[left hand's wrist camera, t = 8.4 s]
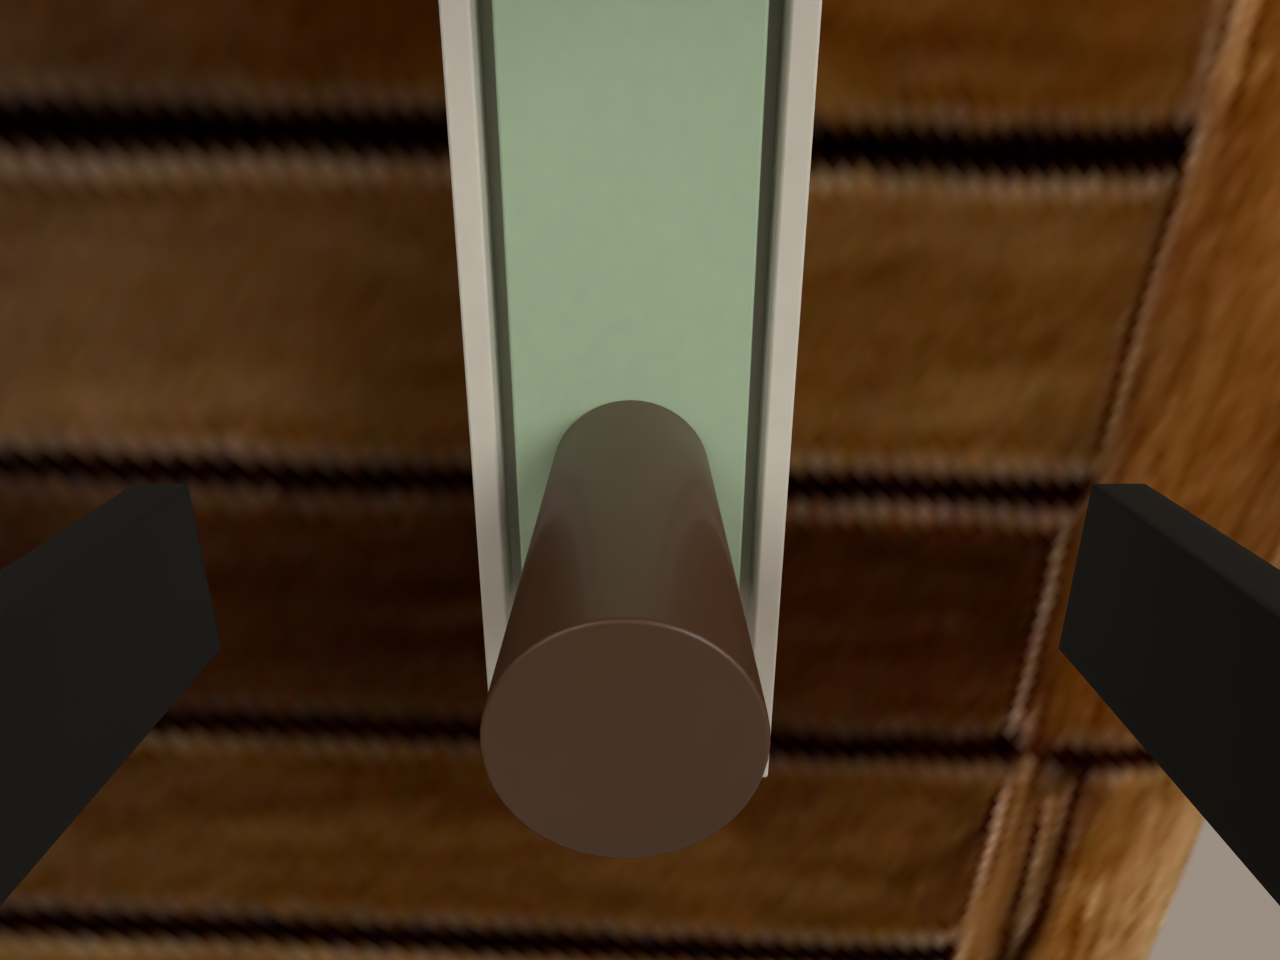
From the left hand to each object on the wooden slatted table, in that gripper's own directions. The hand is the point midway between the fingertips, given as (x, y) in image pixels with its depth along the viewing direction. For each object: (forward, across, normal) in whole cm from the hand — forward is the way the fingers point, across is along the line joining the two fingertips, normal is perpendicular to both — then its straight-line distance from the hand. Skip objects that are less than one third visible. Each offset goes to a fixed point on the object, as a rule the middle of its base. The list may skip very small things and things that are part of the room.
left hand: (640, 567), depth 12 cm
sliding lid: (+5, 0, +5) cm, 7 cm away
